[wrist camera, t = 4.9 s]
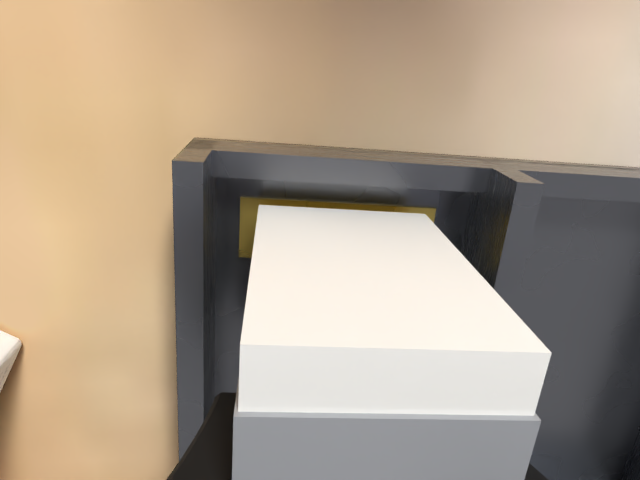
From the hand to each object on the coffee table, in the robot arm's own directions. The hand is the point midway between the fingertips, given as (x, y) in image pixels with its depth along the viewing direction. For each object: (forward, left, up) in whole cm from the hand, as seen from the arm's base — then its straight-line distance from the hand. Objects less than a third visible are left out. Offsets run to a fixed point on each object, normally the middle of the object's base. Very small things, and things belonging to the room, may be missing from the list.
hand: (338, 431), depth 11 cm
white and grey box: (0, 0, -2) cm, 3 cm away
